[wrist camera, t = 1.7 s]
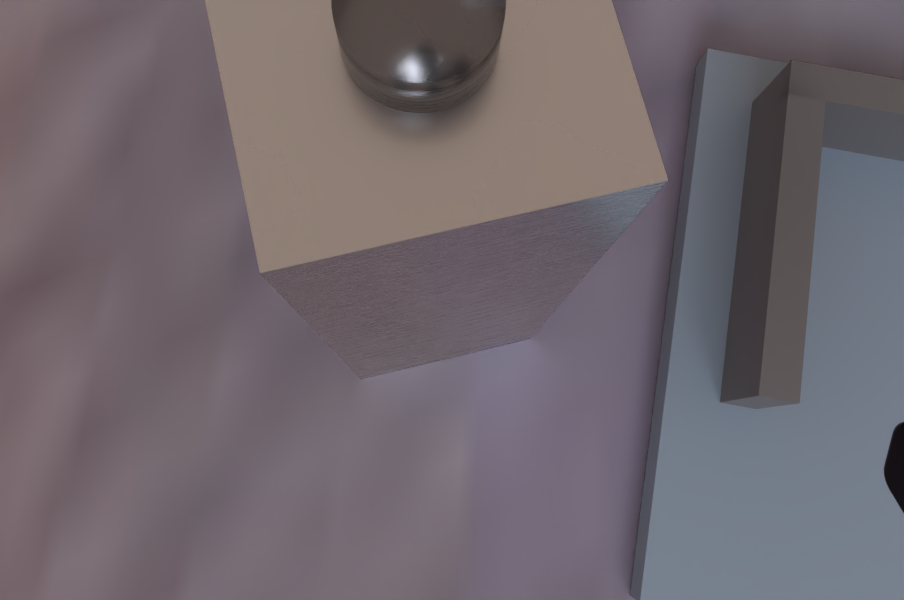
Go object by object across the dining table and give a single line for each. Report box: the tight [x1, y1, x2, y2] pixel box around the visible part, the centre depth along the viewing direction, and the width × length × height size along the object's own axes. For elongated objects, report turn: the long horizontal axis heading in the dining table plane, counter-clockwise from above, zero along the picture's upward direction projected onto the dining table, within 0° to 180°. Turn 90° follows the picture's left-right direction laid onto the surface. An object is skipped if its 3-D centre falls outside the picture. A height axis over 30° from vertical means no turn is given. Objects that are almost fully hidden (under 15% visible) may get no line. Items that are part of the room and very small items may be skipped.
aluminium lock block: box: [205, 0, 668, 379], centre depth 15 cm, size 5×5×14 cm
